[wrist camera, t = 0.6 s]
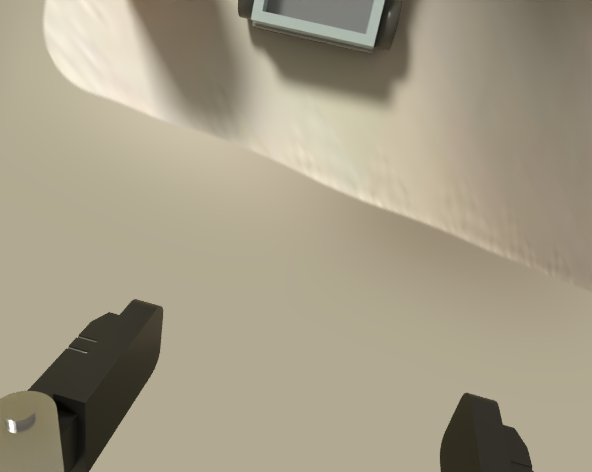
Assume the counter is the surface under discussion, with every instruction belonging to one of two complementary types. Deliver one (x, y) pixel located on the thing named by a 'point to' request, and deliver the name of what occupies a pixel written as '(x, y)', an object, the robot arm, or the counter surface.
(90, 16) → the counter surface
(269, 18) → the truck
